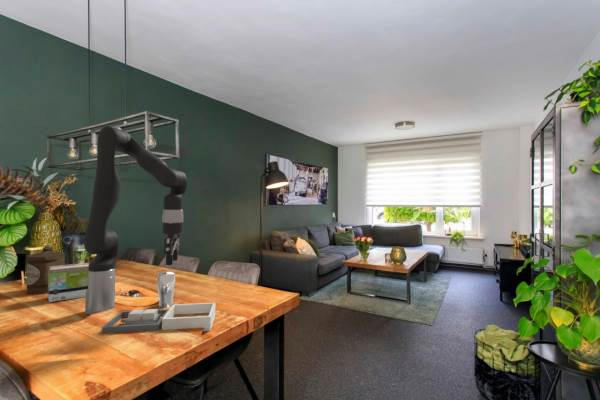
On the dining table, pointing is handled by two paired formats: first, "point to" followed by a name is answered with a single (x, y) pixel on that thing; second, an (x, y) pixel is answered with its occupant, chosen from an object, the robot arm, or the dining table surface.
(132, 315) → the light grey cube block
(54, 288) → the tea box
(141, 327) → the tray
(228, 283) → the dining table surface
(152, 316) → the off-white cube
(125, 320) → the scoop
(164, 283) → the silver metal goblet
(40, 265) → the wooden container
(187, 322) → the bin
